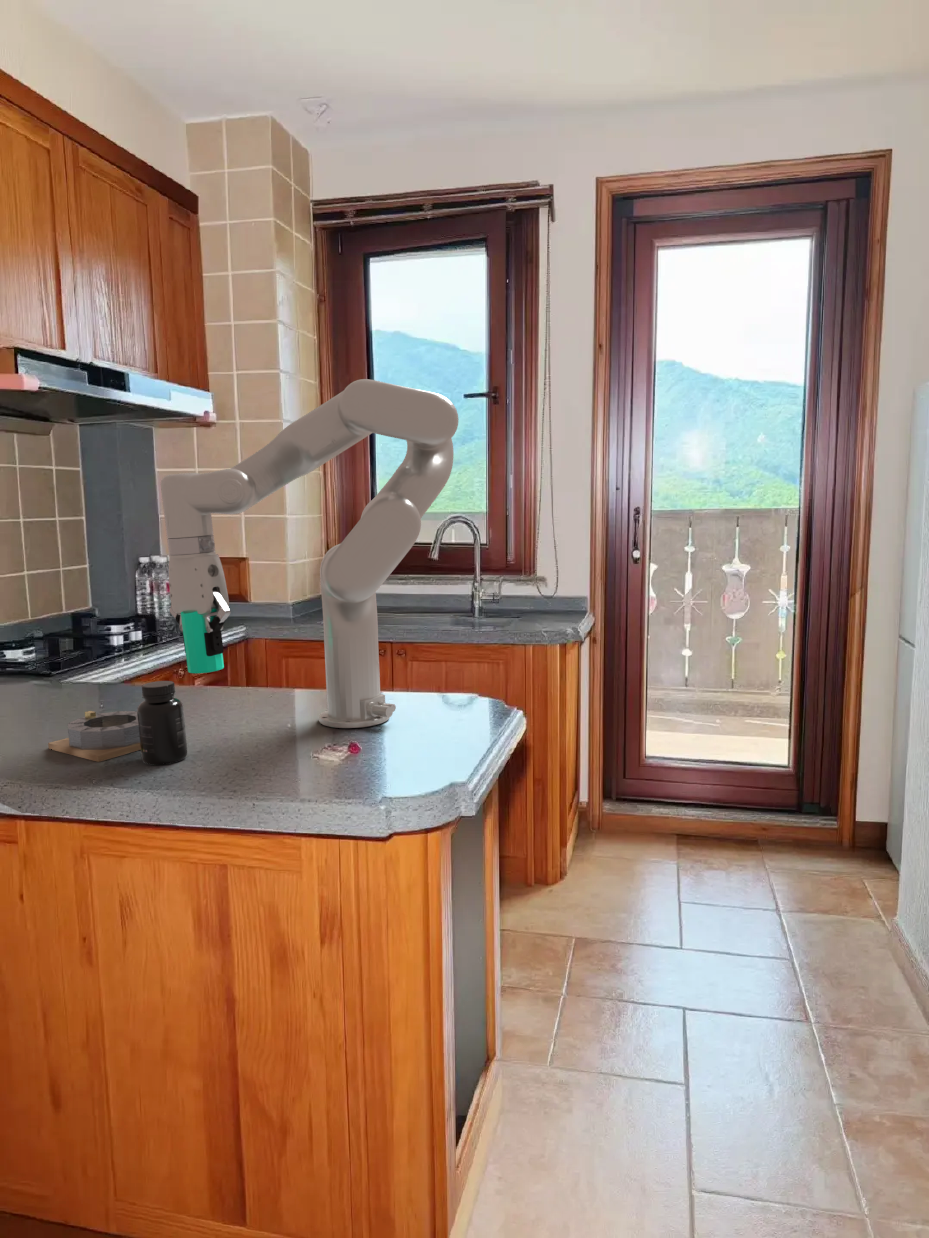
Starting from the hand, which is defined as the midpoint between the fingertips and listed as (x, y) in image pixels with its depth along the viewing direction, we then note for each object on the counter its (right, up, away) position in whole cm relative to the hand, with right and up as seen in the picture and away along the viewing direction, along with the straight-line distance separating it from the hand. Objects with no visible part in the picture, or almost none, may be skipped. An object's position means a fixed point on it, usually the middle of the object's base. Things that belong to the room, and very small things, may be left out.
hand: (204, 652), depth 150 cm
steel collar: (-14, -15, -5) cm, 21 cm away
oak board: (-14, -15, -5) cm, 21 cm away
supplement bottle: (-2, -16, -14) cm, 21 cm away
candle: (0, -3, +1) cm, 3 cm away
